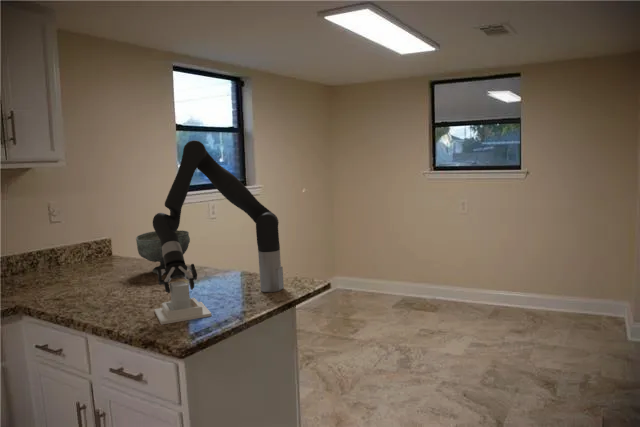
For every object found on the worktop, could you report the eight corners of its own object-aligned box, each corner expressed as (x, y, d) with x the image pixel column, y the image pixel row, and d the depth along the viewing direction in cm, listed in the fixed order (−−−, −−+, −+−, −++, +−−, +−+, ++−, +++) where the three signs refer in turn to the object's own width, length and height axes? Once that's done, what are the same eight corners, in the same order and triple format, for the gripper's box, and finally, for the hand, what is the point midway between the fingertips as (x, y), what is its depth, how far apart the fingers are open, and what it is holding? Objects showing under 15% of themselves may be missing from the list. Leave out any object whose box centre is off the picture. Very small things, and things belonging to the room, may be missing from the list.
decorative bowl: (186, 262, 293) (182, 226, 290) (198, 271, 270) (194, 233, 267) (136, 271, 281) (131, 234, 278) (144, 281, 259) (139, 241, 256)
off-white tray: (201, 304, 211) (200, 295, 211) (211, 315, 195) (210, 306, 194) (154, 311, 204) (153, 302, 203) (161, 324, 187) (160, 315, 187)
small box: (191, 312, 197) (188, 284, 195) (175, 315, 194) (173, 287, 193) (186, 307, 204) (184, 280, 203) (171, 309, 202) (169, 282, 200)
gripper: (154, 252, 202) (161, 288, 193) (192, 247, 208) (200, 282, 199) (153, 263, 207) (160, 298, 198) (190, 258, 213) (198, 292, 204)
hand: (180, 290), depth 198 cm, fingers open, 8 cm apart
